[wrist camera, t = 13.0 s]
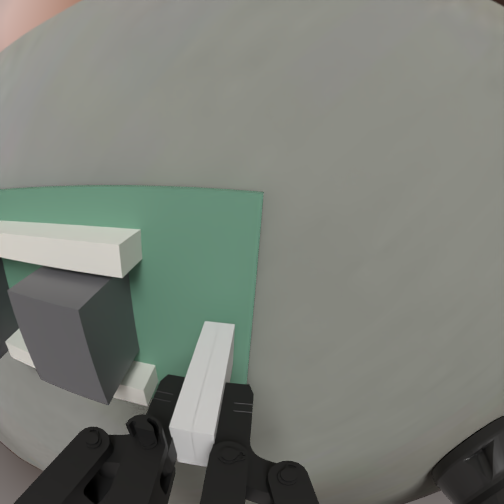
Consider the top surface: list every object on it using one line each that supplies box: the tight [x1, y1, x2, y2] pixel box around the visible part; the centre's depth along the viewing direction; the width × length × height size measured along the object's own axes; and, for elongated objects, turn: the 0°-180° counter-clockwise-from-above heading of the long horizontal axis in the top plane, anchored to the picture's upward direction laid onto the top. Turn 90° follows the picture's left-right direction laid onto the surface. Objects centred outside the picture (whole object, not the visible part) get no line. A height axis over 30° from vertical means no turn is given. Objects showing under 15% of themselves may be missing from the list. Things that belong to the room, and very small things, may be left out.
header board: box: [0, 185, 264, 406], centre depth 13 cm, size 15×22×8 cm
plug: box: [7, 266, 140, 405], centre depth 13 cm, size 6×5×5 cm
